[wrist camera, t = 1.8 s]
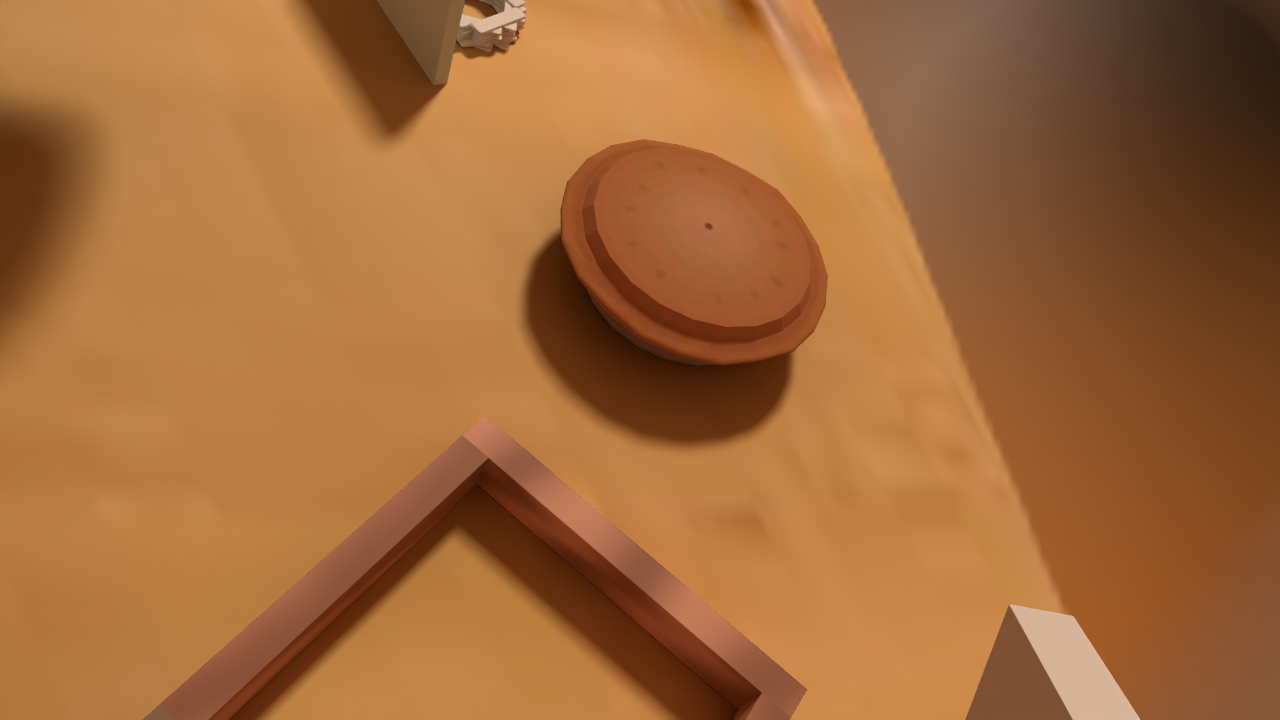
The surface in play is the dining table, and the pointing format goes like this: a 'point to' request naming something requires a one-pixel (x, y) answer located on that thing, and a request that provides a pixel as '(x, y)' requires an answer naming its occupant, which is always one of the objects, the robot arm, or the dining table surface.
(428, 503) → the rail frame
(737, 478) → the dining table surface
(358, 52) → the dining table surface
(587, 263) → the pie
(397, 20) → the right angle wall
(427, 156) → the dining table surface
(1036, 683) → the robot arm
